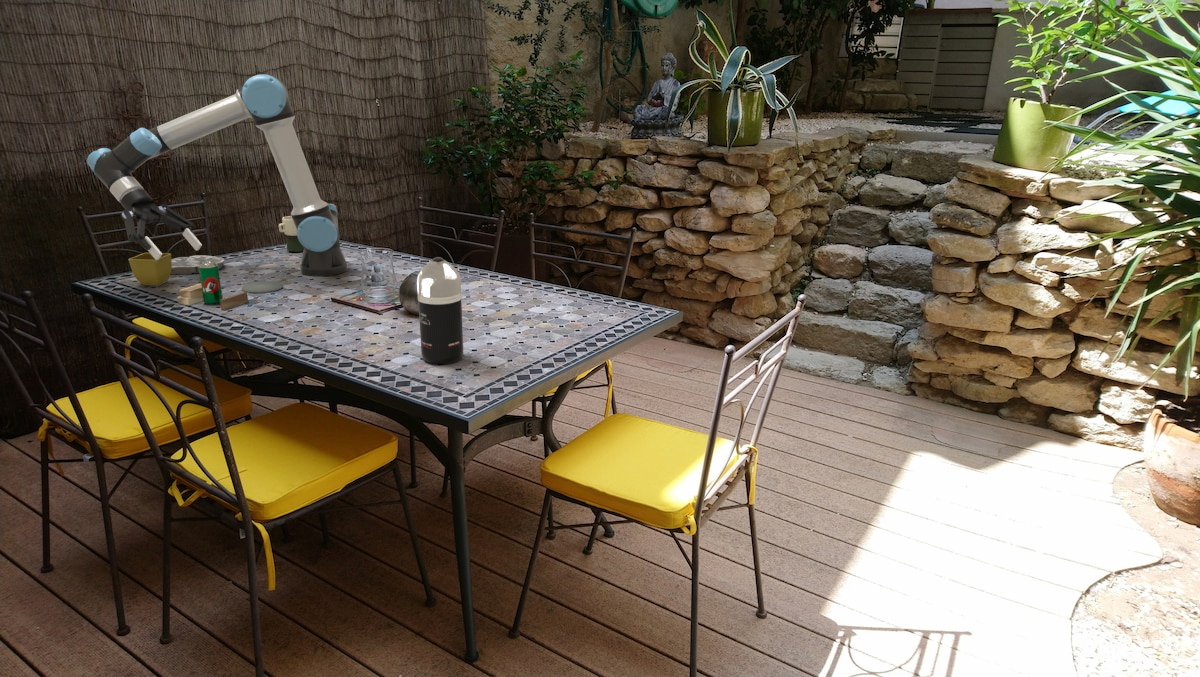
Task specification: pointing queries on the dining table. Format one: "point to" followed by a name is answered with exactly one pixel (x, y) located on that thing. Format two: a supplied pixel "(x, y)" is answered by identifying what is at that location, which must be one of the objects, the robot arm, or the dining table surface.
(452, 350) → the black and cream bottle
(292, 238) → the character mug
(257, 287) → the pad
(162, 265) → the flower pot
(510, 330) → the dining table surface
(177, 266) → the brain slice
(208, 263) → the soda can
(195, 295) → the set of wooden blocks
